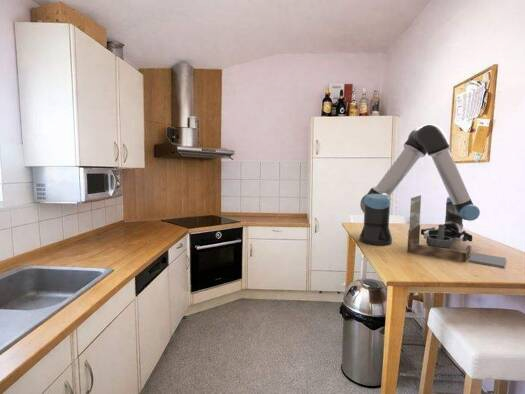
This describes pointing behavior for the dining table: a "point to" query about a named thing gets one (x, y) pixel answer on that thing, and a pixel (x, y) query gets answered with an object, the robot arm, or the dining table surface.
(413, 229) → the brown piece
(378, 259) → the dining table surface
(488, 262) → the slate pad
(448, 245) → the mortar and pestle
